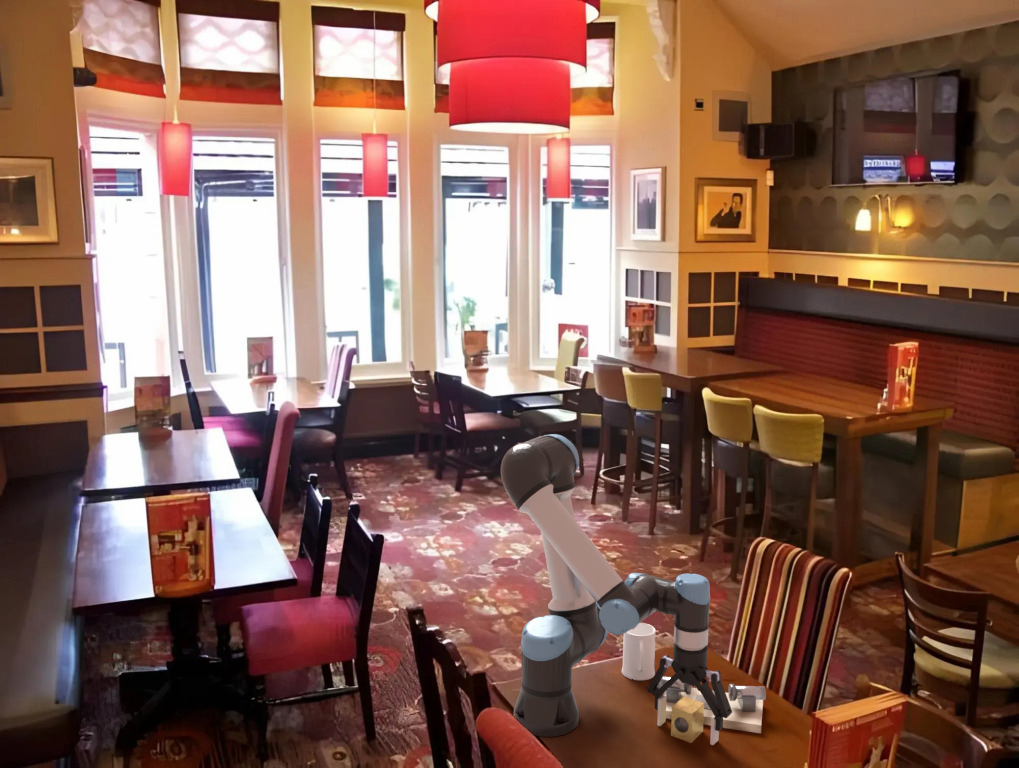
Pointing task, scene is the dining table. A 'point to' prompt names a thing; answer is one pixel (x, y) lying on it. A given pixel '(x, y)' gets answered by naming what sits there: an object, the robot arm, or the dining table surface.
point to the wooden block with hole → (687, 719)
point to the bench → (734, 720)
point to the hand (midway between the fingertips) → (687, 732)
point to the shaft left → (675, 689)
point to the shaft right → (746, 696)
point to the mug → (639, 652)
